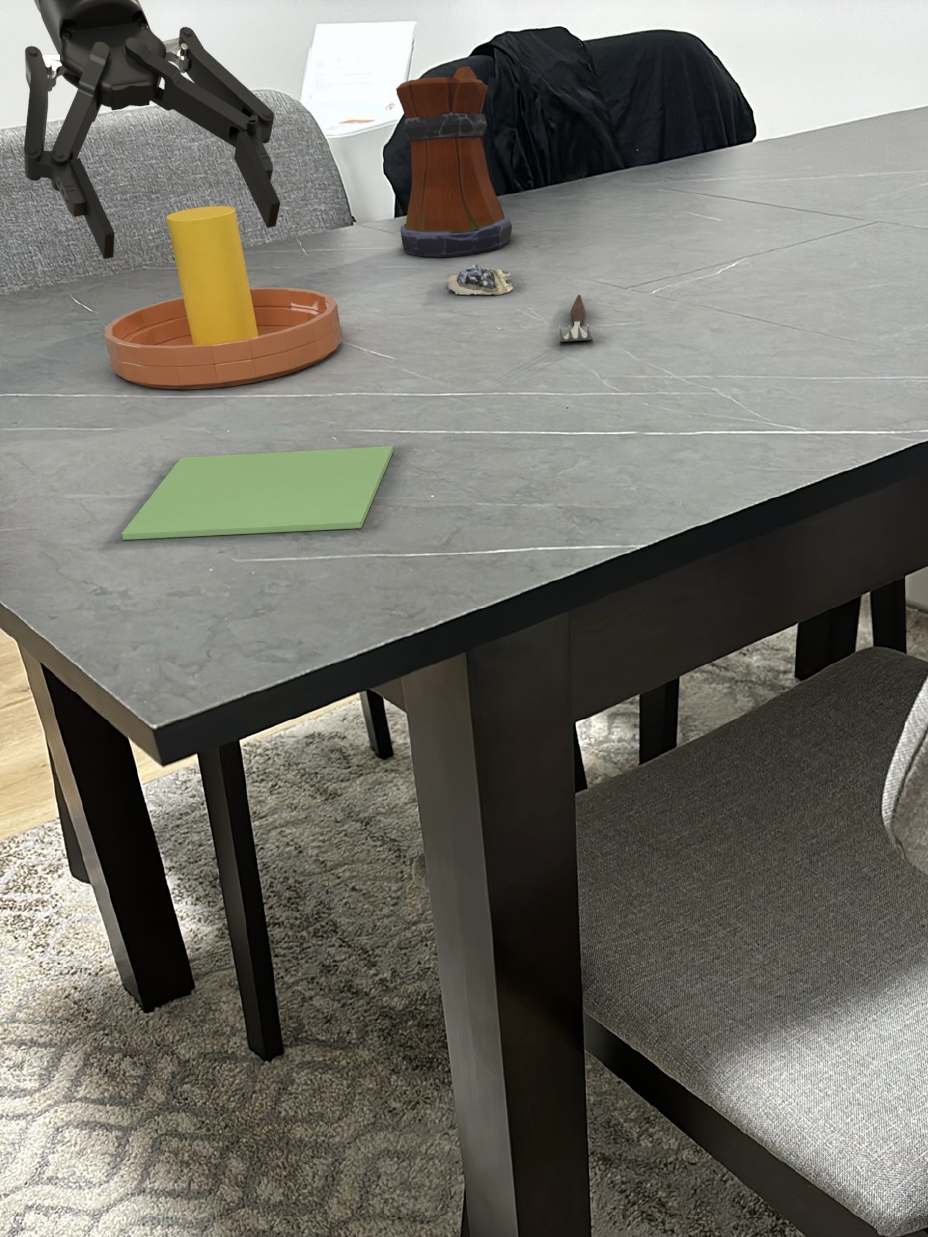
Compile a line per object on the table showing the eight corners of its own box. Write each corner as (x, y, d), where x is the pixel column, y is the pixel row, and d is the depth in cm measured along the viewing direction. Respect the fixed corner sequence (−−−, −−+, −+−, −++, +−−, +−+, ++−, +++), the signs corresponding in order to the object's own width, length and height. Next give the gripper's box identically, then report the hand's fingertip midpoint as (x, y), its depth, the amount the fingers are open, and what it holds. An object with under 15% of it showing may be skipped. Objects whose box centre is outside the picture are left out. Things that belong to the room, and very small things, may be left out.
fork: (595, 300, 114) (594, 275, 112) (592, 352, 101) (591, 323, 100) (564, 302, 114) (563, 277, 113) (557, 354, 101) (556, 326, 100)
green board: (122, 540, 77) (120, 533, 77) (182, 463, 87) (180, 457, 87) (361, 528, 76) (360, 521, 76) (393, 451, 86) (392, 445, 86)
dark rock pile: (496, 273, 125) (494, 250, 124) (537, 287, 119) (536, 263, 118) (431, 286, 123) (428, 263, 121) (470, 301, 117) (468, 277, 116)
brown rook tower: (427, 224, 147) (410, 62, 137) (531, 218, 145) (520, 53, 135) (389, 261, 133) (367, 83, 123) (503, 255, 131) (489, 74, 121)
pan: (84, 398, 101) (72, 354, 99) (151, 335, 116) (142, 295, 114) (319, 384, 100) (312, 338, 98) (358, 321, 114) (352, 281, 112)
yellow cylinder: (188, 362, 106) (157, 221, 100) (204, 344, 110) (176, 208, 104) (252, 358, 105) (225, 216, 99) (266, 340, 109) (241, 203, 103)
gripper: (225, 17, 114) (329, 235, 112) (-72, 54, 104) (36, 292, 103) (236, -62, 107) (346, 169, 105) (-82, -29, 97) (34, 224, 96)
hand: (193, 230), depth 104 cm, fingers open, 13 cm apart
